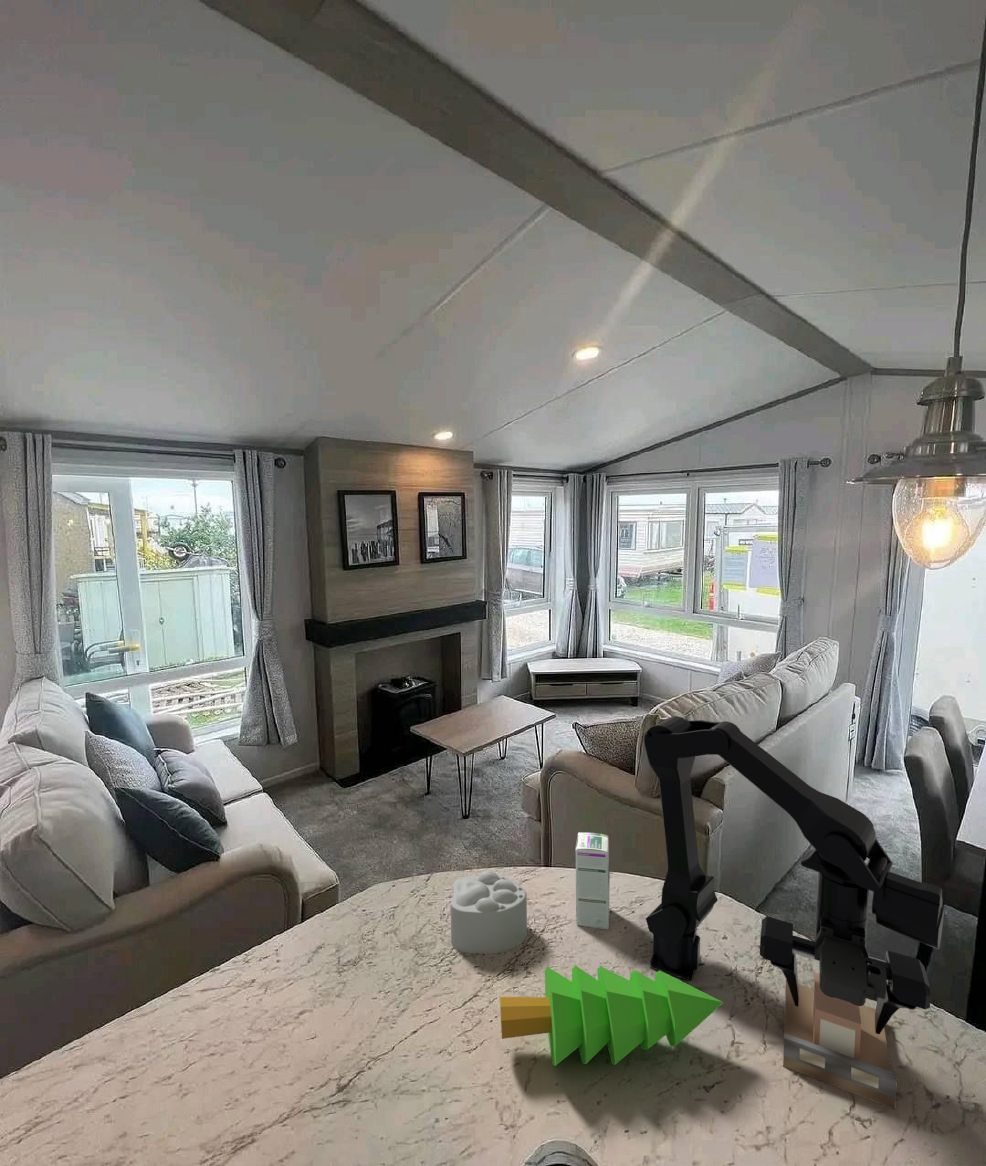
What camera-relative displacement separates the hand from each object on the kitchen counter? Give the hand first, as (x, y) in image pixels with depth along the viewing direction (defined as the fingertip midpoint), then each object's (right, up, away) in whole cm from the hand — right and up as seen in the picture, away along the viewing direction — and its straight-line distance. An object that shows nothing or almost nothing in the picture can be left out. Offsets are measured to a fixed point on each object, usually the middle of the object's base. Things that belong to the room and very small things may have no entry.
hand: (835, 1017), depth 76 cm
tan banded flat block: (+1, -4, +1) cm, 5 cm away
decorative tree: (-30, -5, 0) cm, 30 cm away
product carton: (0, -3, 0) cm, 3 cm away
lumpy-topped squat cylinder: (-46, -3, +23) cm, 52 cm away
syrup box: (-28, -2, +27) cm, 39 cm away
